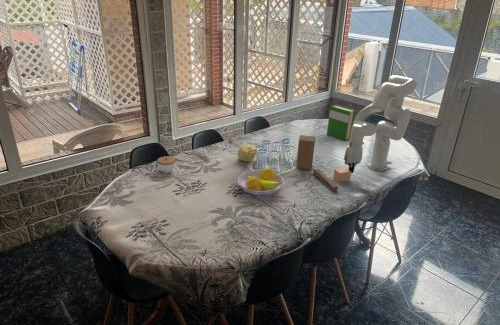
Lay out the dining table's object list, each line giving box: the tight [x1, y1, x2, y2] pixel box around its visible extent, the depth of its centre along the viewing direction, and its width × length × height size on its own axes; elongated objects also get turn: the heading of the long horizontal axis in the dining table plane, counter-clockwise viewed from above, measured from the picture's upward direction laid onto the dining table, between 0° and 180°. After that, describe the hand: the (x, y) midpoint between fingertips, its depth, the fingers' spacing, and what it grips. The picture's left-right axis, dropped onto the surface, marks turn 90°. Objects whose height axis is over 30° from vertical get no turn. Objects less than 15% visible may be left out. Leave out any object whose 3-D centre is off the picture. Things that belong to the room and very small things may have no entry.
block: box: [333, 167, 352, 183], centre depth 223 cm, size 8×6×6 cm
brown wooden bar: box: [313, 168, 339, 193], centre depth 220 cm, size 3×24×3 cm, turn 18°
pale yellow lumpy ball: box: [237, 144, 258, 163], centre depth 243 cm, size 12×12×11 cm
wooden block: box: [295, 134, 316, 171], centre depth 235 cm, size 10×10×20 cm
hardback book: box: [326, 104, 356, 142], centre depth 287 cm, size 18×7×24 cm, turn 43°
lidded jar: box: [156, 155, 176, 174], centre depth 223 cm, size 11×11×9 cm
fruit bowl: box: [237, 167, 285, 196], centre depth 206 cm, size 28×27×11 cm
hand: (350, 172), depth 225 cm, fingers closed
